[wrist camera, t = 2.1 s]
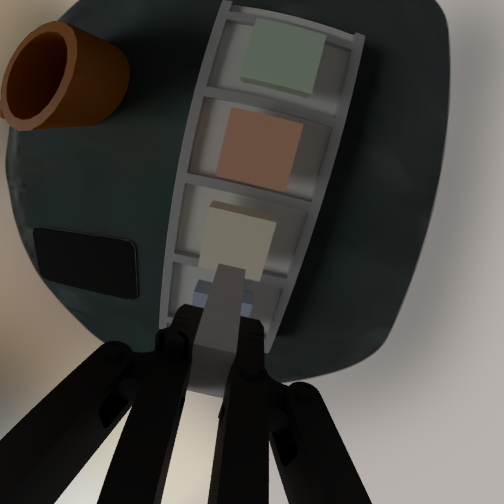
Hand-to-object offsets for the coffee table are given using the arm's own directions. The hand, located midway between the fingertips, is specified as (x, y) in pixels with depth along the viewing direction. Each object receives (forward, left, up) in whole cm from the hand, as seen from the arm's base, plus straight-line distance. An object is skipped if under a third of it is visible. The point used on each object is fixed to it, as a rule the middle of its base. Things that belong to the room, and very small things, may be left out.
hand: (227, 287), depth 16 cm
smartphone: (+8, -17, -11) cm, 22 cm away
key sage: (-14, 0, -7) cm, 16 cm away
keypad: (-4, 0, -11) cm, 11 cm away
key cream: (0, 0, -7) cm, 7 cm away
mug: (-11, -19, -11) cm, 25 cm away
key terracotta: (-7, 0, -7) cm, 10 cm away
